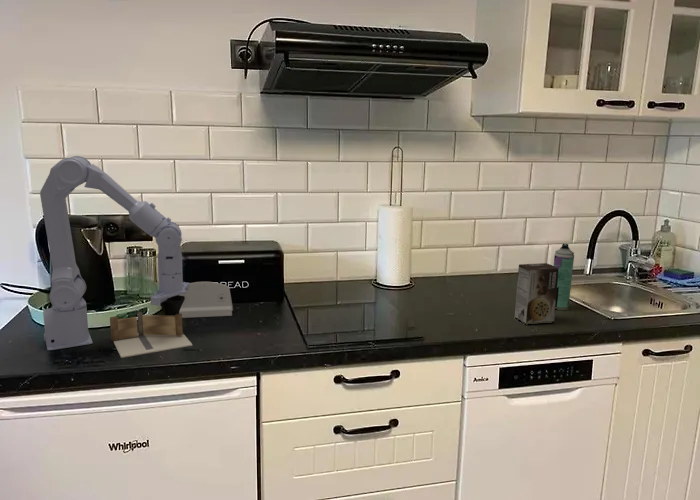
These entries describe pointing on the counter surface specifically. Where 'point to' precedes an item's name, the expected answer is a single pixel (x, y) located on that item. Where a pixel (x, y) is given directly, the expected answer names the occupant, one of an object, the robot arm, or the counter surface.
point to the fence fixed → (123, 328)
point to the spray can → (563, 275)
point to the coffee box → (536, 292)
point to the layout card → (150, 344)
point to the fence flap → (160, 324)
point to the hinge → (206, 300)
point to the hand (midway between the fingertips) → (172, 324)
